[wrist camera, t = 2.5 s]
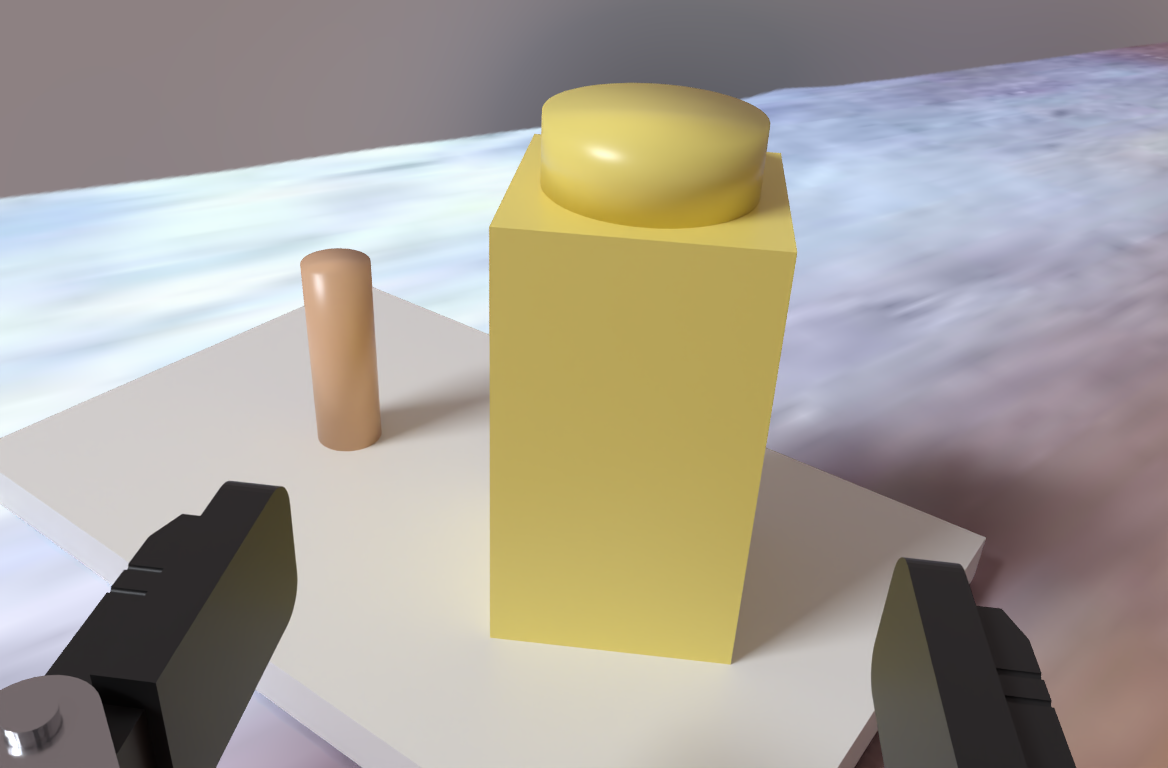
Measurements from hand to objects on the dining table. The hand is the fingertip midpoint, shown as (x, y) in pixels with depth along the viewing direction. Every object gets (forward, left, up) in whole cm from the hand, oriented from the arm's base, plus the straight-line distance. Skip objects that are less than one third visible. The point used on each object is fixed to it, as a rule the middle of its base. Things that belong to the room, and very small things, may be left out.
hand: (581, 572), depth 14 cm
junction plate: (-10, -11, -11) cm, 19 cm away
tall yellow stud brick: (-10, -6, -10) cm, 15 cm away
